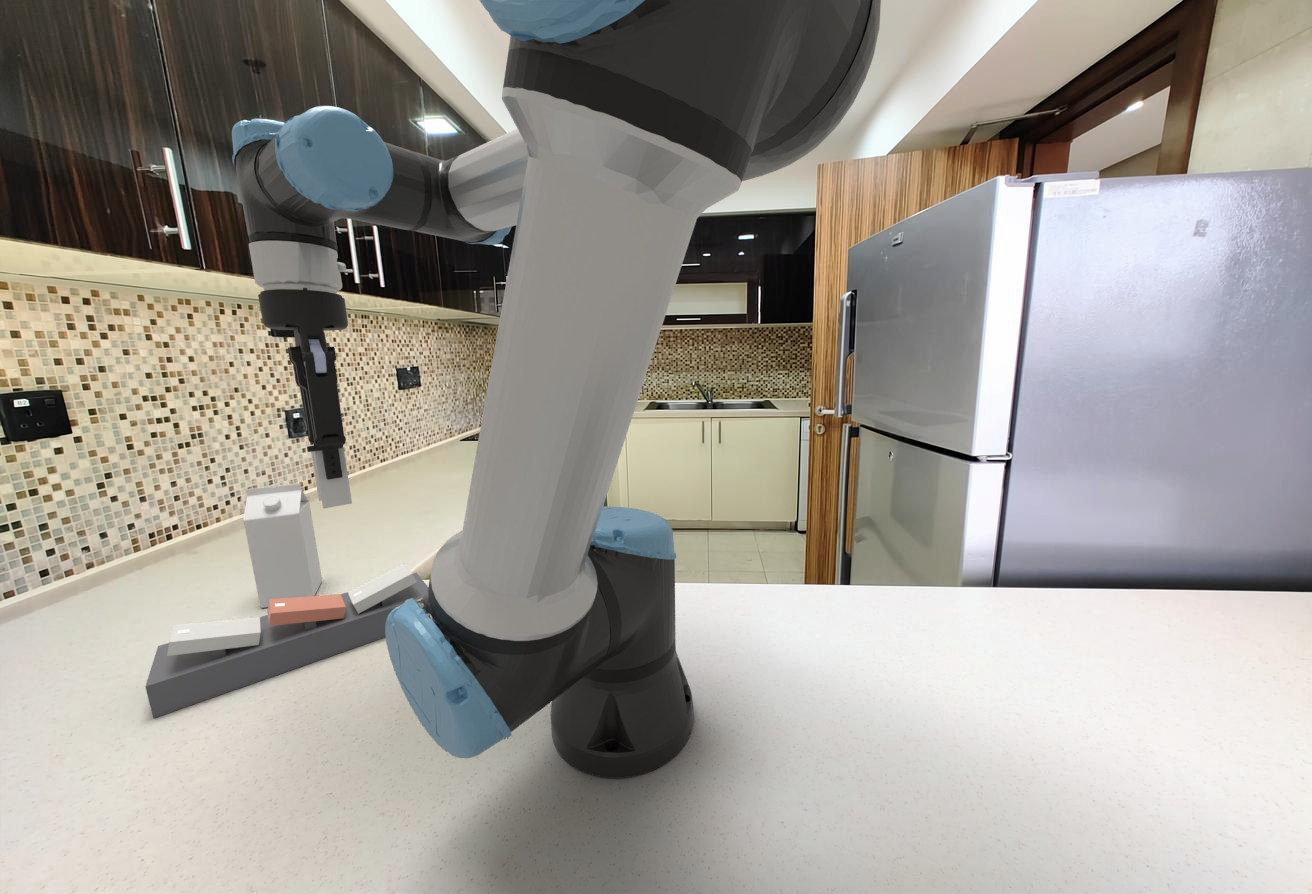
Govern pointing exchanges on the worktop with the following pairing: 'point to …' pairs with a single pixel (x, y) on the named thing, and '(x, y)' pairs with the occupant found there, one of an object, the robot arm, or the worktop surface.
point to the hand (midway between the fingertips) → (335, 501)
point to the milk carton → (281, 543)
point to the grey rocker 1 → (214, 635)
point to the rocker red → (305, 609)
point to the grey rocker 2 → (381, 587)
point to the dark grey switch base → (266, 654)
